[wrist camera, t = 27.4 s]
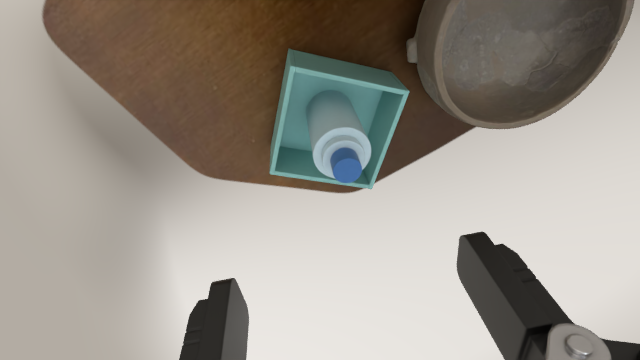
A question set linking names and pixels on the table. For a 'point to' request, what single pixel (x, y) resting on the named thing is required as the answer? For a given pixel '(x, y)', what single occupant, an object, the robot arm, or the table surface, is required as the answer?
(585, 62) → the bowl
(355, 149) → the bottle
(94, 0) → the table surface
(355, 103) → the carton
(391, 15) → the table surface
